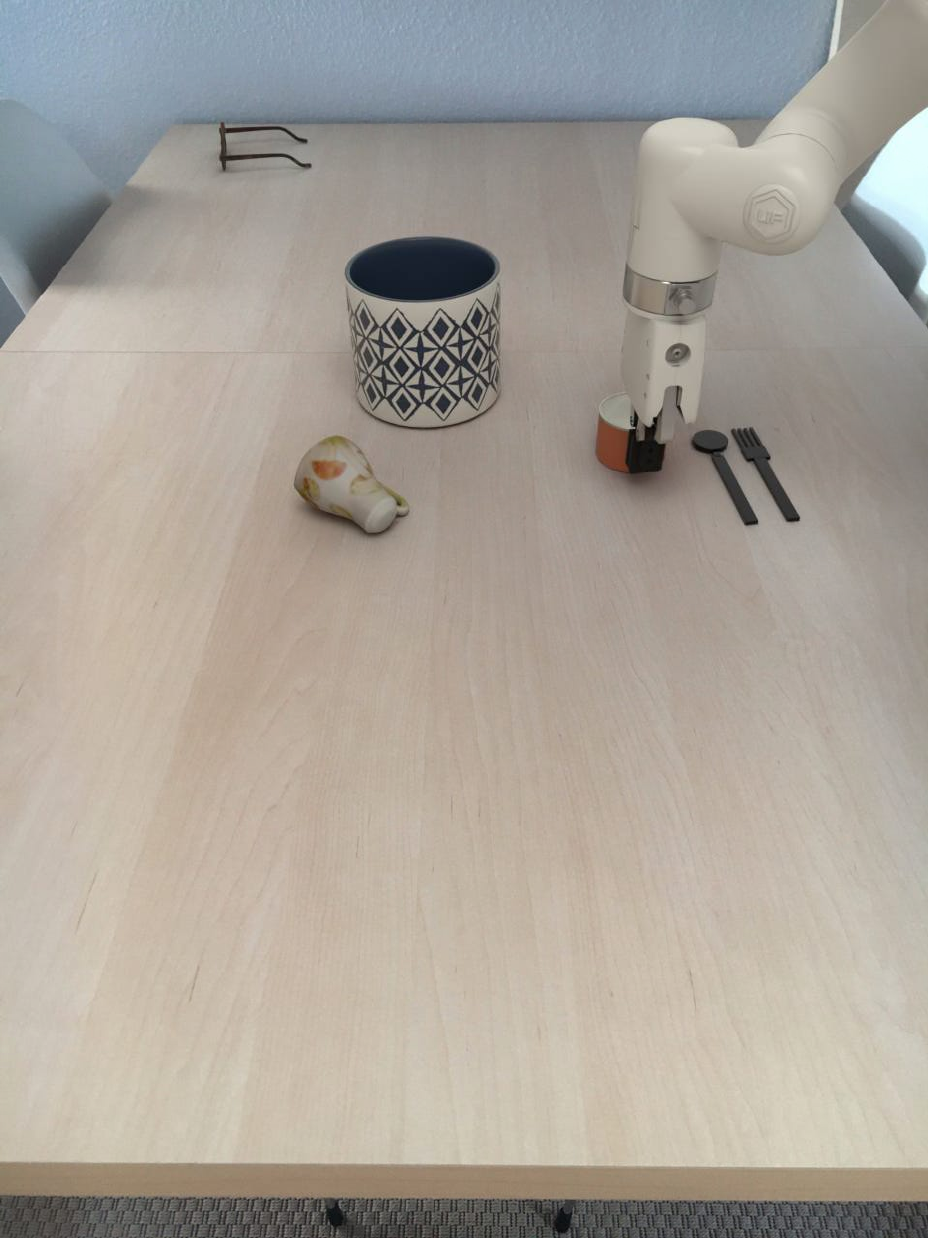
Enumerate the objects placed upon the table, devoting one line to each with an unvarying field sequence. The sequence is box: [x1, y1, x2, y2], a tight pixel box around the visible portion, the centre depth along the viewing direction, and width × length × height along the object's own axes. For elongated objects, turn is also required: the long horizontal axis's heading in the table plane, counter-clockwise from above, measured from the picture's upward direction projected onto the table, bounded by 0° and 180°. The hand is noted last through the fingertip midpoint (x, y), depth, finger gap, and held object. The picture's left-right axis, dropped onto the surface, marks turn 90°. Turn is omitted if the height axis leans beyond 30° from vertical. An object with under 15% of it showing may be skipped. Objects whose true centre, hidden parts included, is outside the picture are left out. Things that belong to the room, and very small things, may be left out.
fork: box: [730, 426, 801, 522], centre depth 97 cm, size 16×2×1 cm, turn 6°
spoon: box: [691, 429, 759, 526], centre depth 97 cm, size 15×4×1 cm, turn 6°
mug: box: [293, 435, 410, 534], centre depth 92 cm, size 8×10×10 cm
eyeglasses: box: [218, 121, 312, 171], centre depth 166 cm, size 15×15×5 cm
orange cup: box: [595, 391, 668, 473], centre depth 99 cm, size 7×7×5 cm
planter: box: [343, 235, 502, 429], centre depth 105 cm, size 16×16×14 cm
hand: (642, 467), depth 95 cm, fingers closed
